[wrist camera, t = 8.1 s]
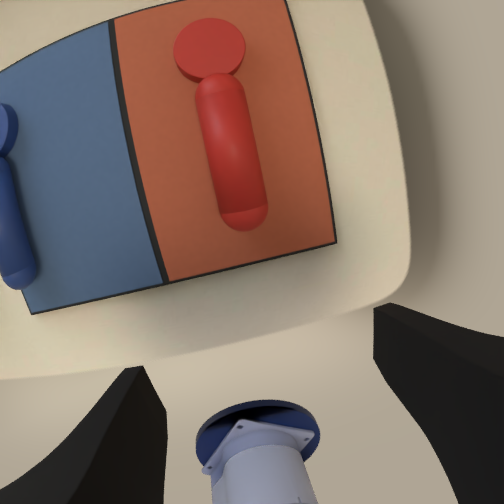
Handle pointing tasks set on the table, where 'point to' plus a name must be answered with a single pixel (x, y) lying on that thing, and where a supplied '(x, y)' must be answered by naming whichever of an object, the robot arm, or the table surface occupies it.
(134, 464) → the robot arm
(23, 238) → the blue spoon
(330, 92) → the table surface
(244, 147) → the red spoon
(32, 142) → the sorting mat
